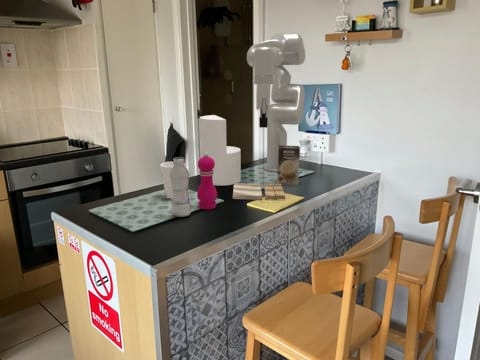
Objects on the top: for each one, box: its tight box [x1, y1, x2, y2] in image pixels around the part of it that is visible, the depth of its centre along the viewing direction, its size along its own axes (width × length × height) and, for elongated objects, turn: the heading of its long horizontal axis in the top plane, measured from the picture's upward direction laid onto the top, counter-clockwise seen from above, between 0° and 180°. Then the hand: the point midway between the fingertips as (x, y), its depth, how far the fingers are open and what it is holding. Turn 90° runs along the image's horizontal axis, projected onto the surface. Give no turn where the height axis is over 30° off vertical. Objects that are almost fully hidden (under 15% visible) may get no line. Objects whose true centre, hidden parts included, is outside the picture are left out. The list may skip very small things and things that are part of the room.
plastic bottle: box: [170, 156, 192, 218], centre depth 134 cm, size 6×7×20 cm
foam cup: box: [159, 161, 186, 200], centre depth 155 cm, size 10×9×13 cm
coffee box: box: [276, 145, 301, 186], centre depth 171 cm, size 9×6×16 cm
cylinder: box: [199, 114, 242, 186], centre depth 175 cm, size 17×17×28 cm
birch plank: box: [232, 182, 263, 201], centre depth 159 cm, size 16×11×2 cm
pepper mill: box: [196, 153, 218, 210], centre depth 142 cm, size 7×7×20 cm
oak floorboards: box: [263, 183, 286, 200], centre depth 159 cm, size 16×7×2 cm, turn 179°
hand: (263, 127), depth 162 cm, fingers closed
